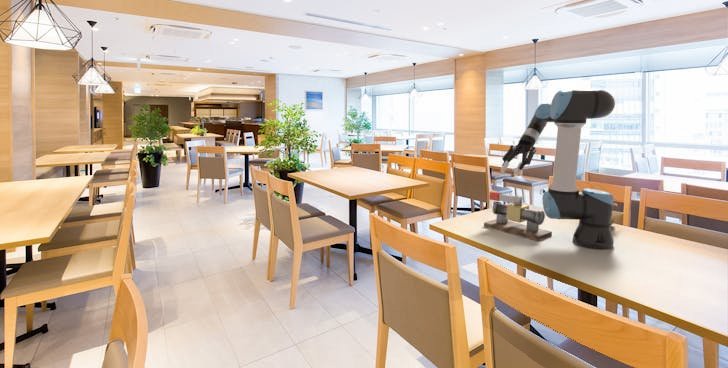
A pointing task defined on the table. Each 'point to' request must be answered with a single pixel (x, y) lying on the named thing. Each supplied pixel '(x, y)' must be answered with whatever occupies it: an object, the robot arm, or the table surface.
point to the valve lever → (506, 198)
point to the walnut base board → (518, 230)
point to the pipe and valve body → (518, 215)
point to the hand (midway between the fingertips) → (508, 172)
